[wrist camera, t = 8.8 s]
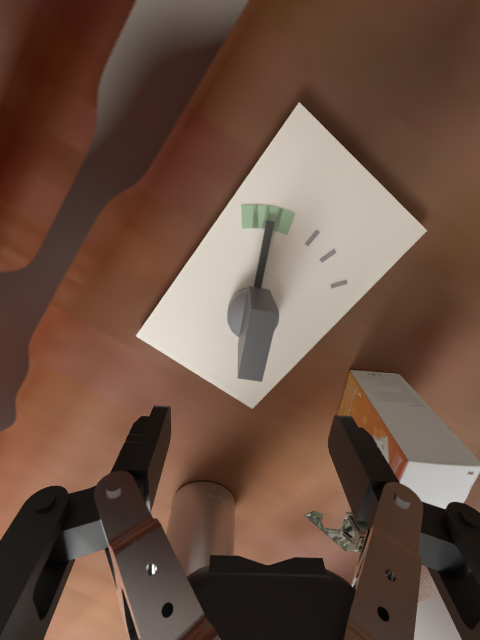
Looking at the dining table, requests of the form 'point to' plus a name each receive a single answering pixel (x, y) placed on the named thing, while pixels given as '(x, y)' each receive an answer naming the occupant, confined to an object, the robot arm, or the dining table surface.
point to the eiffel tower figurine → (343, 531)
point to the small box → (410, 437)
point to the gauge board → (283, 257)
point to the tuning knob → (254, 319)
